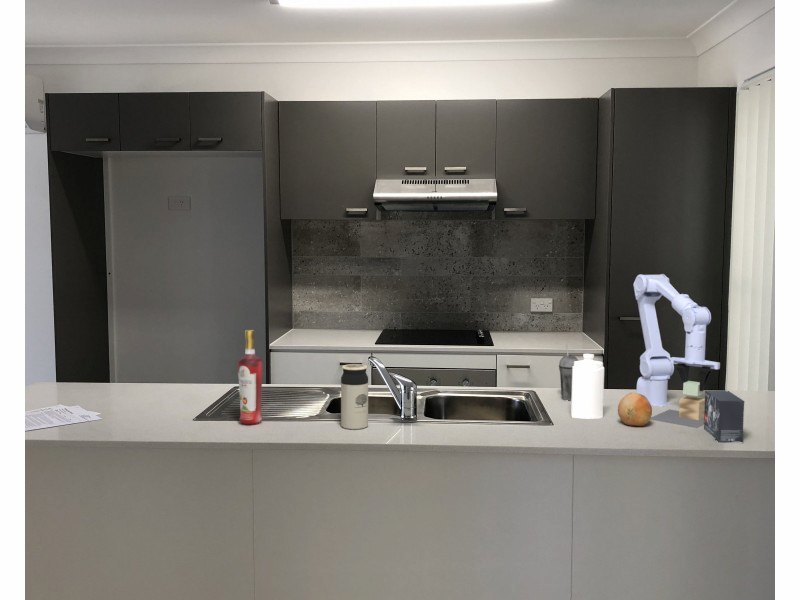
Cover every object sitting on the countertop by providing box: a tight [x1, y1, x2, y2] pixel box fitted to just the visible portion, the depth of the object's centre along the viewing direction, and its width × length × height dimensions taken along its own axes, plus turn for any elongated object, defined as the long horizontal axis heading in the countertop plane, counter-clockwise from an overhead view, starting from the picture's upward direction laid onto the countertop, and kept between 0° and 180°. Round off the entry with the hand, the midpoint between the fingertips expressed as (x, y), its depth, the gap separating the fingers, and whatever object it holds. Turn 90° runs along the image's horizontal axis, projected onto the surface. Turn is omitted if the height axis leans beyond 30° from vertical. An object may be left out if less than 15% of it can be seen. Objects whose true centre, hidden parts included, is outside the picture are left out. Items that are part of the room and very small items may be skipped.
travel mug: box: [340, 363, 369, 430], centre depth 210 cm, size 8×8×18 cm
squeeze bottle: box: [570, 353, 605, 420], centre depth 222 cm, size 10×20×5 cm
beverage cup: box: [558, 342, 579, 402], centre depth 247 cm, size 7×7×20 cm
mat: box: [649, 408, 704, 429], centre depth 221 cm, size 15×17×1 cm
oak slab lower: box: [678, 407, 704, 420], centre depth 223 cm, size 6×6×3 cm
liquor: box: [237, 329, 264, 426], centre depth 212 cm, size 7×7×28 cm
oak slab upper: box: [678, 395, 705, 411], centre depth 223 cm, size 6×6×3 cm
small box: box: [703, 390, 745, 443], centre depth 202 cm, size 13×7×12 cm, turn 174°
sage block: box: [682, 380, 704, 397], centre depth 222 cm, size 4×4×4 cm
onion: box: [617, 392, 653, 427], centre depth 213 cm, size 10×10×10 cm
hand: (693, 389), depth 222 cm, fingers closed on sage block, 4 cm apart
